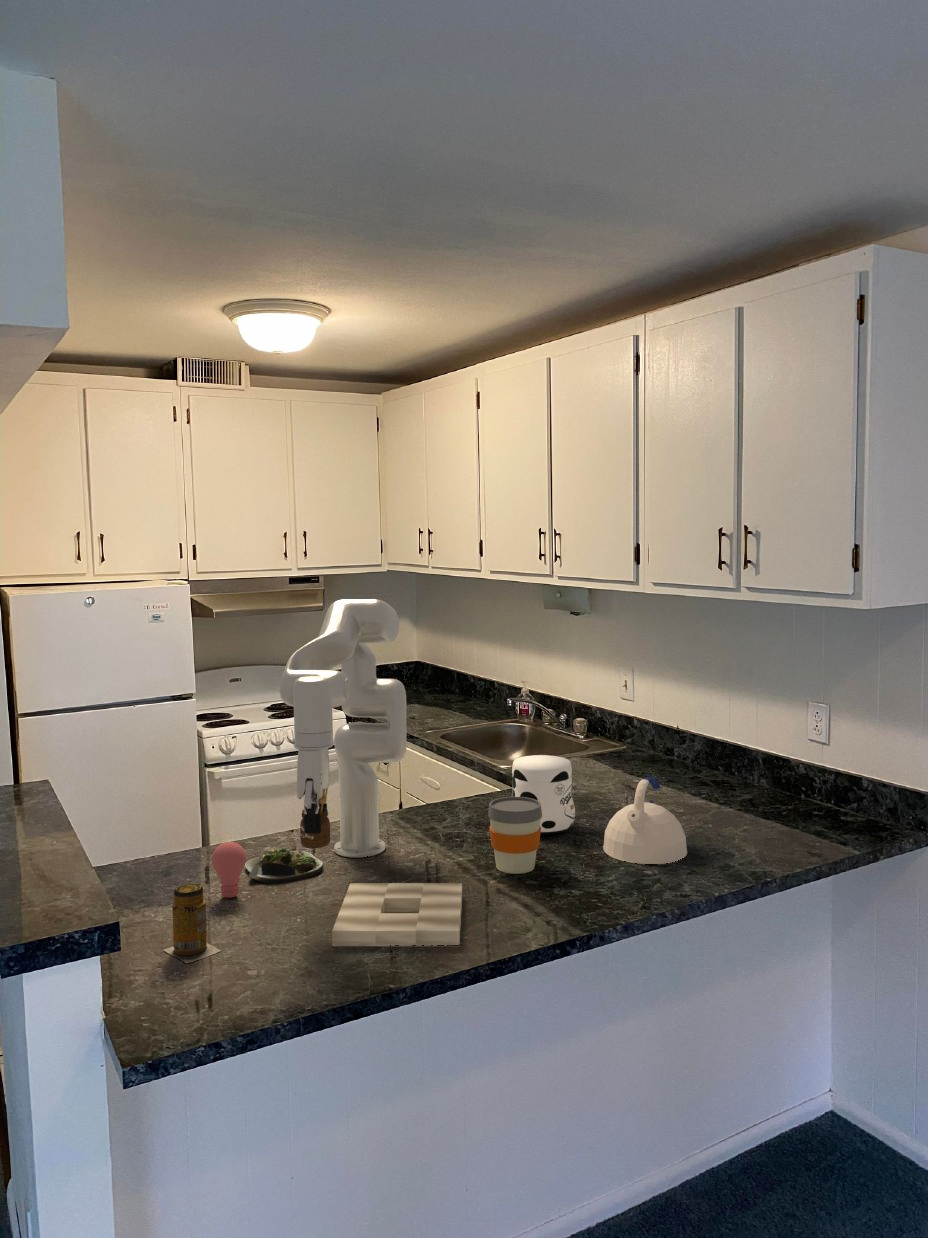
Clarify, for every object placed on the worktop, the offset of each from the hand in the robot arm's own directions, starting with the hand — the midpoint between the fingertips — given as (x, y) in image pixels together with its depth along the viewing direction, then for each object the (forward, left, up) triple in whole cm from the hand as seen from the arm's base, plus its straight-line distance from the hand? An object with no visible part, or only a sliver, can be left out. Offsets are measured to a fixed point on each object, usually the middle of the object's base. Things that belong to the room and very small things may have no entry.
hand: (316, 827), depth 184 cm
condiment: (+14, -21, -19) cm, 32 cm away
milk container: (-58, +49, -19) cm, 78 cm away
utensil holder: (0, 0, -4) cm, 4 cm away
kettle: (-41, +73, -20) cm, 86 cm away
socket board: (0, +17, -19) cm, 26 cm away
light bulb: (-12, -21, -19) cm, 31 cm away
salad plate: (-28, -13, -20) cm, 37 cm away
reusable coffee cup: (-30, +41, -19) cm, 54 cm away
